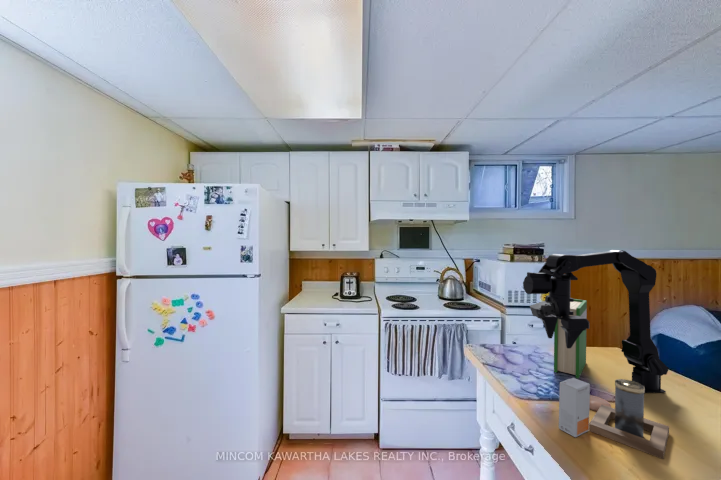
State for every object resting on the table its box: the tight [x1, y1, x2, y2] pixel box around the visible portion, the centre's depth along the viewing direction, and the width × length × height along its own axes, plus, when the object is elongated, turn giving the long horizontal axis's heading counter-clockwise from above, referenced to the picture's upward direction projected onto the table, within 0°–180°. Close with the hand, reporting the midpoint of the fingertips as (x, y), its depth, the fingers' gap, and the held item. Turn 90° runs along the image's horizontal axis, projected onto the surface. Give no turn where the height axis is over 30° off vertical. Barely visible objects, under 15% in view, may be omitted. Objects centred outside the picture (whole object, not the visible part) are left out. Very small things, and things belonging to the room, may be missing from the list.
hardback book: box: [553, 298, 588, 379], centre depth 116 cm, size 18×7×24 cm, turn 138°
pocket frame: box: [588, 405, 670, 460], centre depth 78 cm, size 13×13×2 cm
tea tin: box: [614, 378, 645, 438], centre depth 78 cm, size 6×6×12 cm
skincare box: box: [558, 377, 591, 438], centre depth 79 cm, size 6×4×12 cm
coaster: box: [589, 394, 612, 412], centre depth 91 cm, size 8×8×1 cm
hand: (558, 343), depth 100 cm, fingers open, 9 cm apart
